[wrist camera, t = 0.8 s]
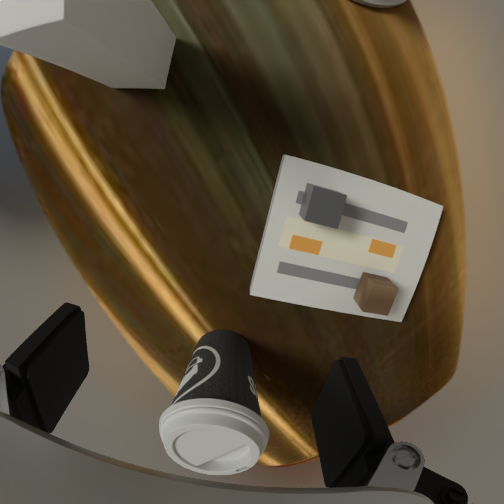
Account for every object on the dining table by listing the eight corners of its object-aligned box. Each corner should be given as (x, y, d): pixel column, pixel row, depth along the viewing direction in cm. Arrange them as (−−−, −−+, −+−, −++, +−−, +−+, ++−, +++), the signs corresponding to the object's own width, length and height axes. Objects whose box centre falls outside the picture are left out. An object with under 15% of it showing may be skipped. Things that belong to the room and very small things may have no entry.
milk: (124, 39, 25) (-5, -59, 3) (177, 38, 25) (81, -99, 4) (112, 89, 26) (-51, 32, 5) (166, 90, 27) (25, -4, 5)
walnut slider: (362, 271, 30) (373, 283, 27) (387, 277, 30) (398, 288, 27) (353, 298, 31) (362, 311, 28) (377, 302, 31) (387, 315, 28)
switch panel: (282, 154, 29) (285, 154, 27) (433, 203, 30) (443, 206, 28) (249, 286, 33) (249, 295, 31) (394, 314, 34) (401, 322, 32)
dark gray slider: (307, 182, 27) (313, 185, 24) (337, 191, 27) (347, 195, 25) (298, 214, 28) (304, 220, 25) (329, 222, 28) (337, 229, 25)
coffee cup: (203, 388, 37) (188, 483, 23) (170, 330, 34) (132, 425, 20) (274, 370, 36) (284, 469, 22) (246, 307, 33) (245, 406, 19)
